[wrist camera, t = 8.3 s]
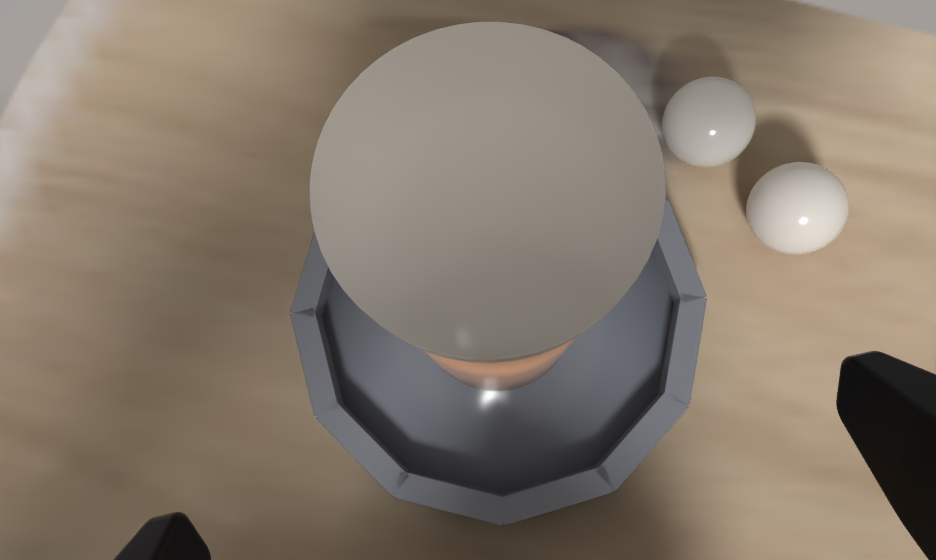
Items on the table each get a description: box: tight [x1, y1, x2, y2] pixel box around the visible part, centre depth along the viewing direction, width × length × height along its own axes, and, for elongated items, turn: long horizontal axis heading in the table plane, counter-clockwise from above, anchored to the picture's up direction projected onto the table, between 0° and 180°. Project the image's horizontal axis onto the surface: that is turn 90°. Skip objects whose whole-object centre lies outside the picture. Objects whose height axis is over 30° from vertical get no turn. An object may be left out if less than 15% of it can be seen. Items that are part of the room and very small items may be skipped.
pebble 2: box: [746, 162, 849, 255], centre depth 21 cm, size 3×3×3 cm
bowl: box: [290, 197, 707, 526], centre depth 22 cm, size 13×13×2 cm
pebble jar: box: [309, 22, 666, 391], centre depth 16 cm, size 6×6×12 cm
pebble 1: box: [662, 76, 756, 168], centre depth 22 cm, size 3×3×3 cm
